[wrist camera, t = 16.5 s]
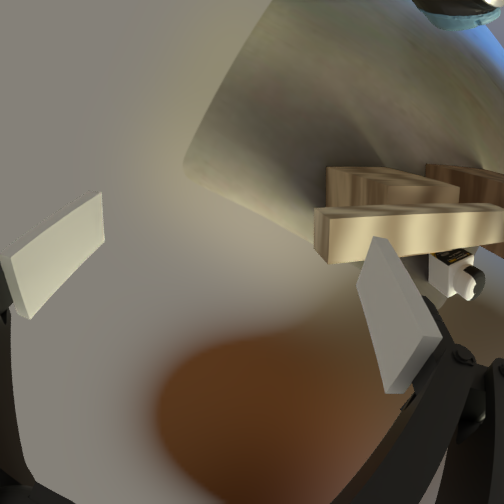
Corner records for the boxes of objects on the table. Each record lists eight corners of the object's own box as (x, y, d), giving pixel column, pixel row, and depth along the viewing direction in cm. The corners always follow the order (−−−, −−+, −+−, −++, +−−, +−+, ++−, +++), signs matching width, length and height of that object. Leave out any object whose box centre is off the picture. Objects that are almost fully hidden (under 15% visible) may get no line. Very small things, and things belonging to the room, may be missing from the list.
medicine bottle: (452, 242, 53) (491, 264, 42) (451, 272, 56) (486, 296, 45) (428, 252, 53) (466, 277, 42) (427, 282, 56) (462, 310, 45)
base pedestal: (325, 216, 48) (382, 259, 31) (325, 166, 45) (388, 185, 28) (383, 213, 49) (451, 250, 32) (386, 167, 46) (460, 187, 29)
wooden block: (313, 248, 30) (328, 264, 26) (314, 208, 28) (329, 219, 24) (485, 231, 32) (505, 241, 29) (490, 203, 31) (510, 211, 27)
